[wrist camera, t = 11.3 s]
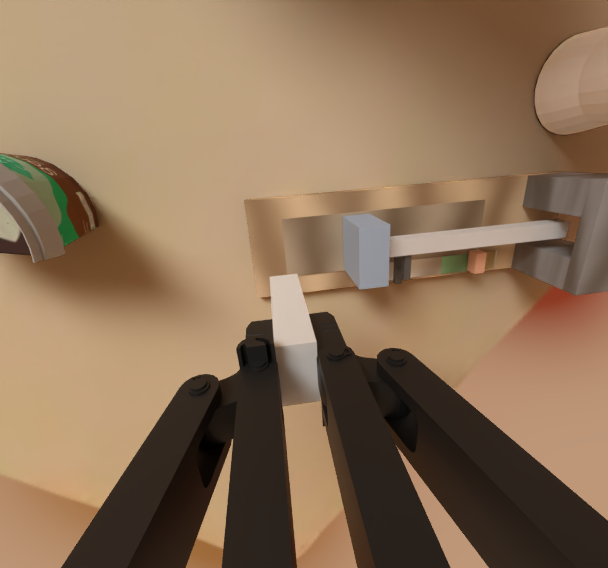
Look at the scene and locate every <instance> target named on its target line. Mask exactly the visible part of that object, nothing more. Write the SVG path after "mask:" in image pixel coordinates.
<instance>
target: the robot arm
mask: <svg viewBox="0 0 608 568" xmlns="http://www.w3.org/2000/svg"><path fill="white" fill-rule="evenodd" d="M270 291H271V306H272V319H271V320H262V321H254V322H251V323H250V324H249V326H248V327H247V328H246V339H245V340H243V341H242V342H240V343H239V344H238V346H237V348H236V350H237V355H238V361H239V366H240V370H239V371H238V372H237V373H236V374H234V375H232V376H230V377H228V378H226V379H223V380H220V381H218V378H217V377H215V376H213V375H209V374H204V375H198V376H195V377H192V378H190V379H189V380H187V381H186V382H185V383H184V384H183V385H182V386H181V387H180V388H179V390H178V391H177V393H176V394H175V396H174V397H173V399H172V400H171V402H170V403H169V405H168V407H167V408H166V410H165V411H164V413H163V414H162V416H161V417H160V419H159V420H158V422H157V423H156V425H155V426H154V428H153V429H152V431H151V432H150V434H149V435H148V437H147V438H146V440H145V441H144V443H143V444H142V446H141V447H140V449H139V450H138V452H137V453H136V455H135V457H134V458H133V460H132V461H131V463H130V464H129V466H128V467H127V469H126V470H125V472H124V473H123V475H122V476H121V478H120V479H119V481H118V482H117V484H116V485H115V487H114V488H113V490H112V491H111V493H110V494H109V496H108V497H107V499H106V500H105V502H104V504H103V505H102V507H101V508H100V510H99V511H98V513H97V514H96V516H95V517H94V519H93V520H92V522H91V523H90V525H89V526H88V528H87V529H86V531H85V532H84V534H83V535H82V537H81V538H80V540H79V542H78V543H77V544H76V546H75V547H74V549H73V550H72V552H71V554H70V555H69V557H68V558H67V560H66V561H65V563H64V564H63V566H62V567H61V568H186V565H187V562H188V559H189V557H190V554H191V551H192V549H193V546H194V543H195V540H196V538H197V535H198V532H199V530H200V527H201V524H202V522H203V519H204V516H205V513H206V511H207V508H208V505H209V503H210V500H211V497H212V494H213V492H214V489H215V486H216V484H217V481H218V478H219V476H220V473H221V470H222V467H223V465H224V462H225V459H226V457H227V454H228V451H229V448H230V446H231V441H232V439H233V438H234V439H233V450H232V461H231V472H230V483H229V494H228V505H227V516H226V527H225V538H224V549H223V560H222V561H223V562H222V568H297V564H296V552H295V540H294V529H293V517H292V506H291V494H290V483H289V472H288V460H287V449H286V437H285V426H284V415H283V408H282V406H288V405H295V404H302V403H309V402H316V401H320V397H321V401H322V418H323V426H326V431H327V435H328V440H329V444H330V448H331V453H332V457H333V462H334V466H335V470H336V475H337V479H338V484H339V488H340V492H341V497H342V501H343V506H344V510H345V514H346V519H347V523H348V527H349V532H350V537H351V541H352V545H353V550H354V554H355V559H356V563H357V567H358V568H450V566H449V564H448V561H447V559H446V557H445V555H444V552H443V550H442V548H441V546H440V543H439V541H438V539H437V537H436V534H435V532H434V530H433V528H432V526H431V523H430V521H429V519H428V517H427V515H426V512H425V510H424V508H423V506H422V503H421V501H420V499H419V497H418V494H417V492H416V490H415V488H414V485H413V483H412V481H411V478H410V476H409V474H408V472H407V470H406V467H405V465H404V463H403V461H402V458H401V456H400V454H399V452H398V449H397V447H398V448H399V449H400V451H401V452H402V453H403V455H404V456H405V457H406V459H407V460H408V461H409V463H410V464H411V465H412V467H413V468H414V469H415V470H416V472H417V473H418V474H419V476H420V477H421V478H422V480H423V481H424V482H425V484H426V485H427V486H428V487H429V489H430V490H431V492H432V493H433V494H434V496H435V497H436V498H437V500H438V501H439V502H440V503H441V505H442V506H443V507H444V509H445V510H446V511H447V513H448V514H449V515H450V517H451V518H452V519H453V521H454V522H455V523H456V525H457V526H458V527H459V529H460V530H461V531H462V533H463V534H464V535H465V536H466V538H467V539H468V540H469V542H470V543H471V544H472V546H473V547H474V548H475V549H476V551H477V552H478V553H479V555H480V556H481V558H482V559H483V560H484V562H485V563H486V564H487V566H488V567H489V568H608V521H607V520H606V519H605V518H604V517H603V516H602V515H600V514H599V513H598V512H597V511H596V510H594V509H593V508H592V507H591V506H590V505H588V504H587V503H586V502H585V501H584V500H583V499H582V498H580V497H579V496H578V495H577V494H576V493H574V492H573V491H572V490H571V489H570V488H569V487H567V486H566V485H565V484H564V483H563V482H561V481H560V480H559V479H558V478H557V477H556V476H554V475H553V474H552V473H551V472H550V471H549V470H547V469H546V468H545V467H544V466H543V465H542V464H540V463H539V462H538V461H537V460H535V459H534V458H533V457H532V456H531V455H530V454H529V453H527V452H526V451H525V450H524V449H523V448H521V447H520V446H519V445H518V444H517V443H516V442H515V441H513V440H512V439H511V438H510V437H509V436H507V435H506V434H505V433H504V432H503V431H502V430H500V429H499V428H498V427H497V426H496V425H494V424H493V423H492V422H491V421H490V420H489V419H487V418H486V417H485V416H484V415H483V414H482V413H480V412H479V411H478V410H477V409H476V408H474V407H473V406H472V405H471V404H470V403H469V402H467V401H466V400H465V399H464V398H463V397H462V396H460V395H459V394H458V393H457V392H456V391H455V390H453V389H452V388H451V387H450V386H449V385H447V384H446V383H445V382H444V381H443V380H442V379H440V378H439V377H438V376H437V375H436V374H435V373H433V372H432V371H431V370H430V369H429V368H427V367H426V366H425V365H424V364H423V363H422V362H420V361H419V360H418V359H417V358H416V357H415V356H413V355H412V354H411V353H409V352H407V351H405V350H402V349H398V348H389V349H384V350H382V351H380V352H379V354H378V355H377V359H374V358H364V357H360V356H357V355H355V353H354V352H353V350H352V349H351V348H349V347H347V346H346V344H345V341H344V339H343V337H342V334H341V332H340V330H339V327H338V325H337V323H336V320H335V318H334V316H332V315H331V314H330V313H328V312H321V313H313V314H309V313H308V310H307V306H306V303H305V299H304V296H303V292H302V289H301V285H300V282H299V278H298V275H297V274H290V275H280V276H271V277H270ZM395 444H396V445H397V447H396V445H395Z"/></svg>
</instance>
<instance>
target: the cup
mask: <svg viewBox="0 0 608 568" xmlns="http://www.w3.org/2000/svg"><path fill="white" fill-rule="evenodd" d="M535 108H536V113H537V116H538V118H539V120H540V122H541V124H542V125H543V126H544V127H545V128H546V129H547V130H548V131H550V132H553V133H555V134H562V135H568V134H573V133H578V132H582V131H586V130H590V129H594V128H597V127H601V126H605V125H608V27H605V28H600V29H596V30H592V31H588V32H584V33H580V34H576V35H574V36H572V37H571V38H569V39H567V40H565V41H564V42H563V43H562V44H561V45H559V46H558V47H557V48H556V49H555V50H554V51H553V52H552V54H551V55H550V57H549V58H548V60H547V61H546V62H545V64H544V66H543V68H542V70H541V73H540V75H539V77H538V81H537V85H536V89H535Z"/></svg>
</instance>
